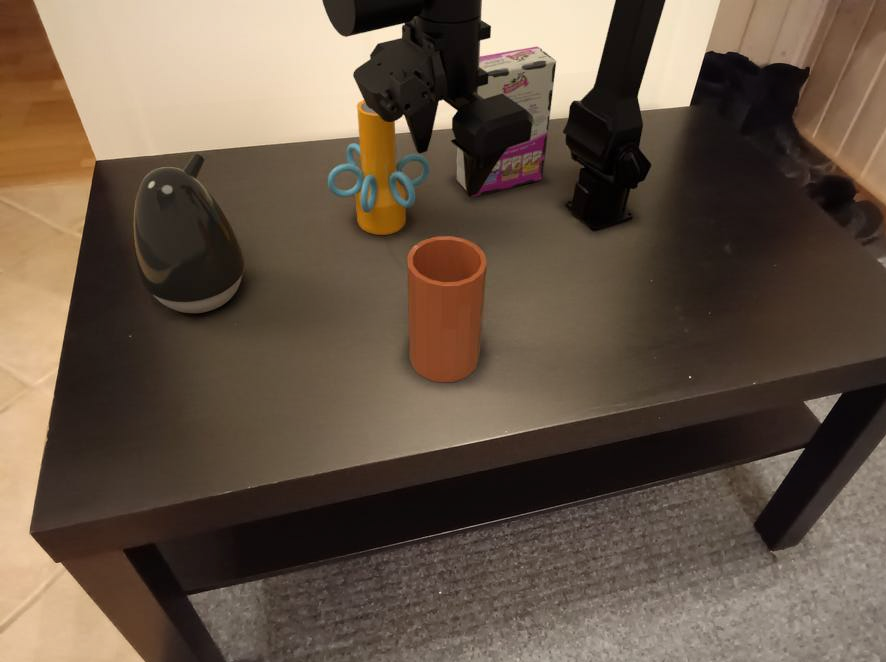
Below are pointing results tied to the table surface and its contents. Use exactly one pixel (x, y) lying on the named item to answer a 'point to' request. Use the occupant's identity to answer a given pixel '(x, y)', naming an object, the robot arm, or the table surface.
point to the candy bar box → (532, 88)
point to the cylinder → (378, 175)
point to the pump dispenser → (184, 241)
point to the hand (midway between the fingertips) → (446, 172)
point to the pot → (445, 307)
